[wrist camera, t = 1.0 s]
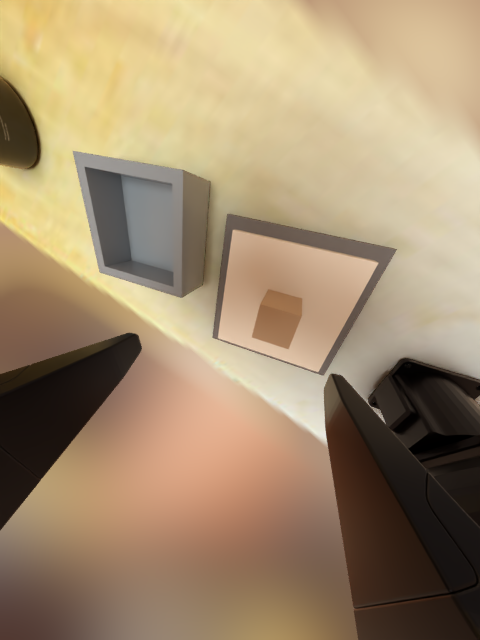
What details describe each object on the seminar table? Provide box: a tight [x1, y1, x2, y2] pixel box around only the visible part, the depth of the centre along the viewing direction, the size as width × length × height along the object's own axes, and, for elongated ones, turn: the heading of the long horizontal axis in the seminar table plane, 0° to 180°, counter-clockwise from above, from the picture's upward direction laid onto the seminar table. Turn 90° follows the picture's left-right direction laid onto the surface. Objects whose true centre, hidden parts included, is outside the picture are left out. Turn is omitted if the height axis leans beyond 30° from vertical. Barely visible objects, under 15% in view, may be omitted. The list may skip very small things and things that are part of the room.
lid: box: [218, 230, 378, 372], centre depth 16 cm, size 11×11×4 cm
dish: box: [73, 151, 210, 298], centre depth 16 cm, size 9×9×4 cm
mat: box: [213, 214, 397, 375], centre depth 18 cm, size 13×13×1 cm
